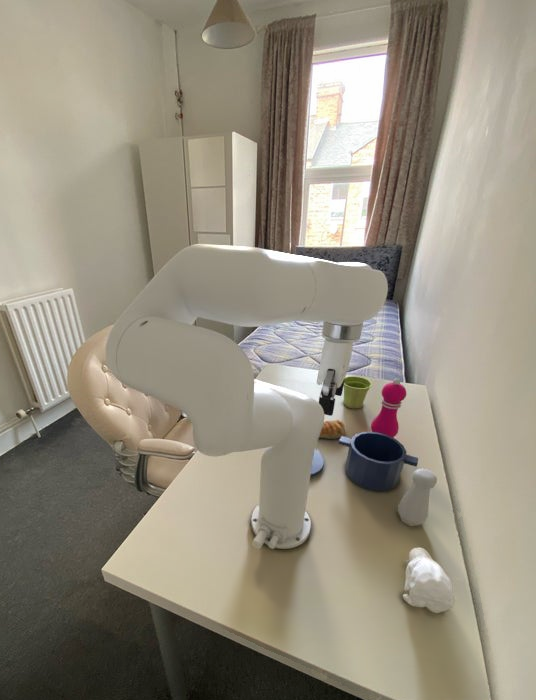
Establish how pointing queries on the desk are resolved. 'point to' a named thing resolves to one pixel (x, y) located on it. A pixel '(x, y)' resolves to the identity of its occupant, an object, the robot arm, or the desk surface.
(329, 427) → the pastry
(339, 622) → the desk surface
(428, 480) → the salt shaker
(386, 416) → the pepper mill
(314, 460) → the lid
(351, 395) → the plant pot
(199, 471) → the desk surface
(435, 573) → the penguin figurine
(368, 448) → the pot
